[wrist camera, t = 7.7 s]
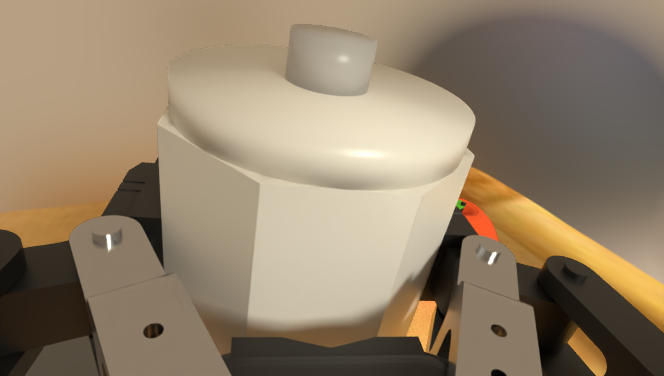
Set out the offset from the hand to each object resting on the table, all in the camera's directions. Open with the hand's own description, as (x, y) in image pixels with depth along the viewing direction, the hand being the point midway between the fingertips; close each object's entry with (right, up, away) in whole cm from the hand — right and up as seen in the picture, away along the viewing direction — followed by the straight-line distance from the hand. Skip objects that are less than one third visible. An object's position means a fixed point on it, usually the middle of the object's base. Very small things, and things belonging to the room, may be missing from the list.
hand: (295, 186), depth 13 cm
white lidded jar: (-1, -6, +1) cm, 6 cm away
